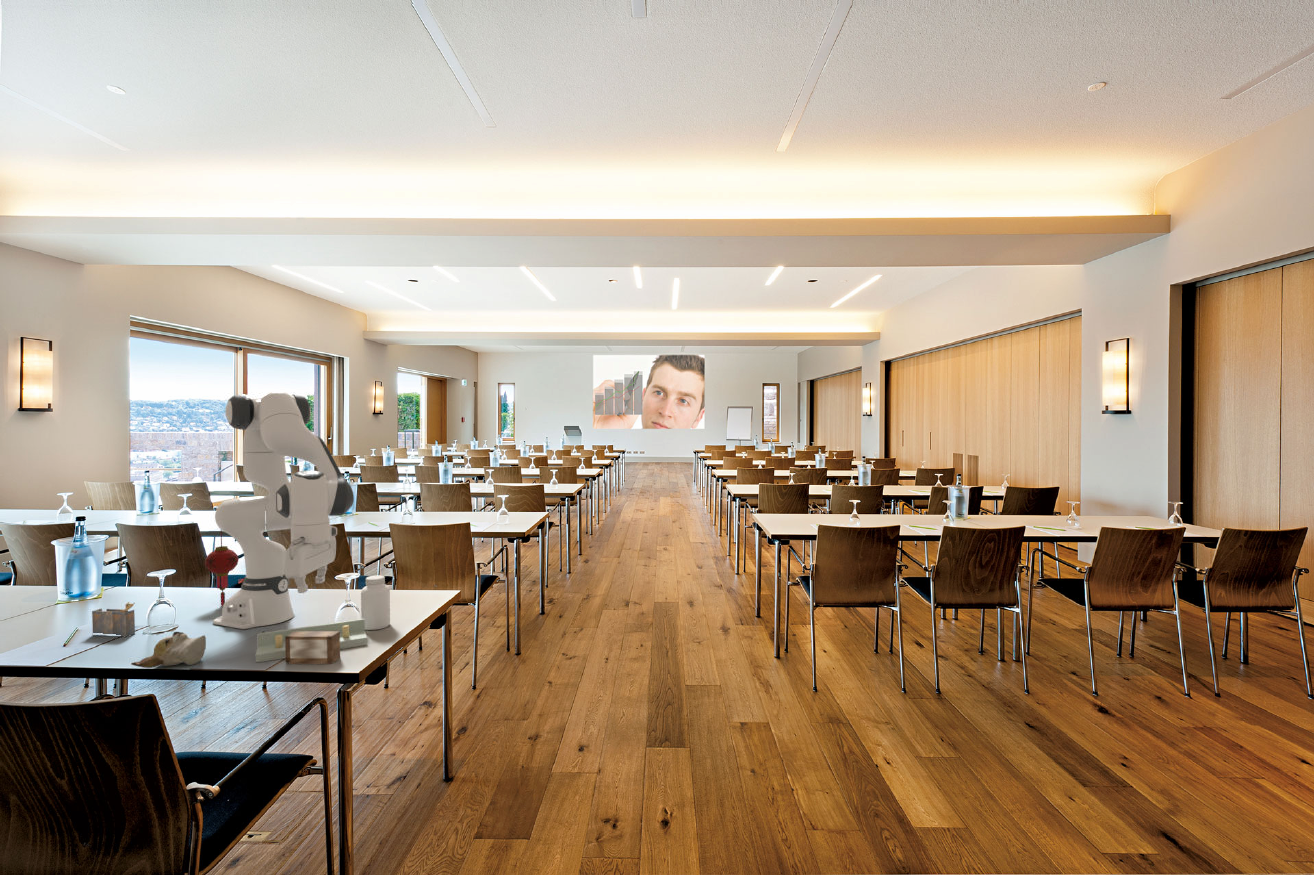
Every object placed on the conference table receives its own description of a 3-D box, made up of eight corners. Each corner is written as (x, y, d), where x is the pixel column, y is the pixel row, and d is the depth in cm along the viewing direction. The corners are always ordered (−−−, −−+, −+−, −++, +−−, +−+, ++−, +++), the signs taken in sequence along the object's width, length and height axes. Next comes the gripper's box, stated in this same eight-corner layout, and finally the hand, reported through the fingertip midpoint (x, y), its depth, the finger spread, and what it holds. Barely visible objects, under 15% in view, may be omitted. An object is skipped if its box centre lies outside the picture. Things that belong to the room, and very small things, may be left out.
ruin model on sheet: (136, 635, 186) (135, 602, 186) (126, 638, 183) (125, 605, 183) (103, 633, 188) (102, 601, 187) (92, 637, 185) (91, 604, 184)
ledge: (255, 662, 162) (255, 642, 162) (258, 652, 169) (257, 633, 169) (366, 644, 175) (366, 626, 175) (364, 636, 182) (364, 618, 182)
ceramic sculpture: (190, 636, 157) (127, 641, 156) (193, 670, 157) (129, 676, 156) (217, 623, 168) (157, 628, 166) (219, 655, 168) (160, 660, 167)
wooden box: (285, 663, 161) (285, 636, 161) (295, 657, 165) (294, 631, 165) (332, 663, 161) (331, 636, 161) (340, 657, 165) (339, 631, 165)
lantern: (198, 608, 211) (196, 519, 210) (223, 600, 220) (221, 515, 219) (222, 610, 209) (219, 520, 208) (246, 602, 218) (244, 515, 217)
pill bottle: (379, 631, 186) (378, 580, 186) (355, 629, 188) (354, 579, 187) (395, 623, 194) (394, 574, 193) (372, 621, 195) (371, 573, 195)
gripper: (303, 541, 152) (304, 598, 153) (340, 527, 173) (341, 577, 173) (276, 542, 152) (277, 599, 152) (316, 527, 172) (317, 578, 173)
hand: (311, 587), depth 163 cm, fingers open, 8 cm apart
